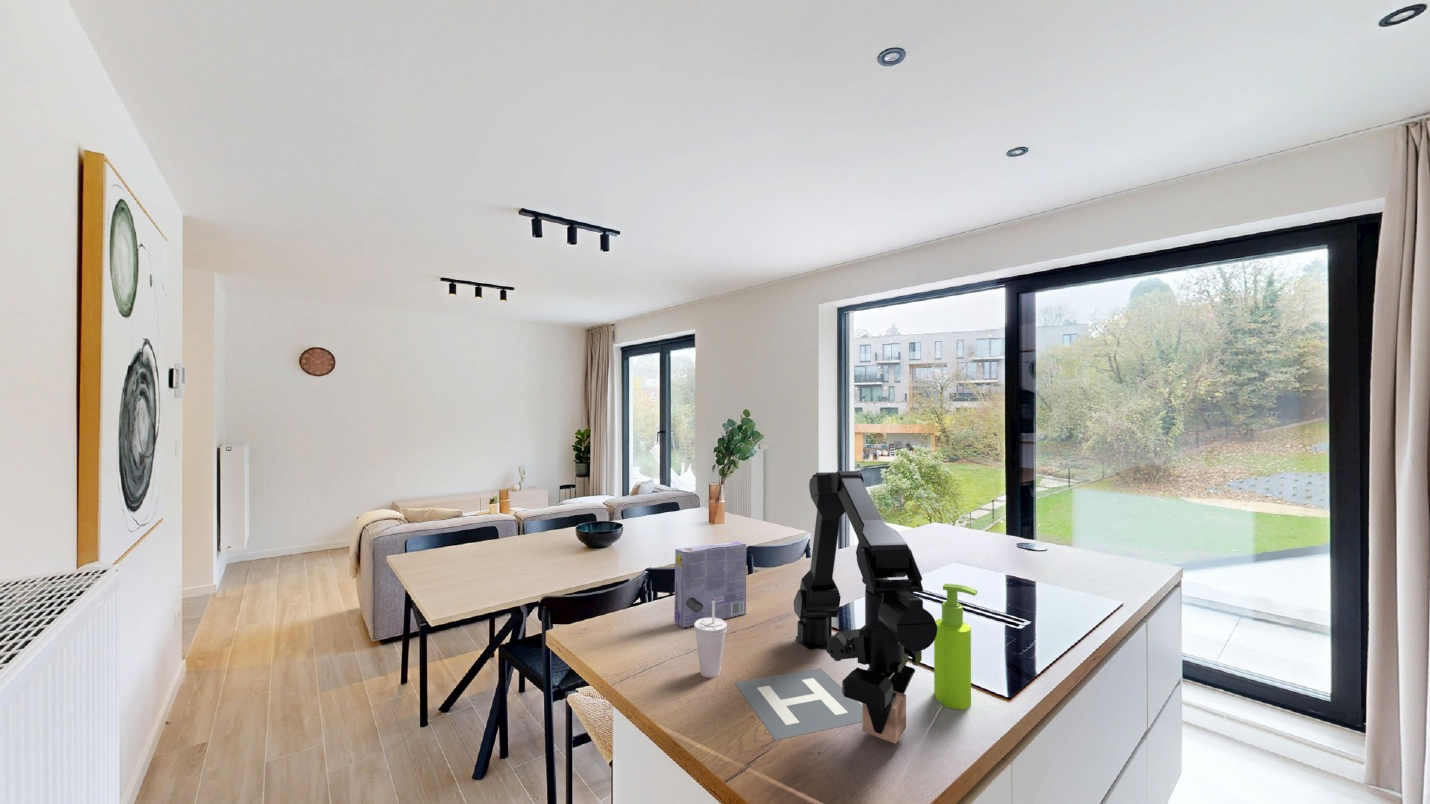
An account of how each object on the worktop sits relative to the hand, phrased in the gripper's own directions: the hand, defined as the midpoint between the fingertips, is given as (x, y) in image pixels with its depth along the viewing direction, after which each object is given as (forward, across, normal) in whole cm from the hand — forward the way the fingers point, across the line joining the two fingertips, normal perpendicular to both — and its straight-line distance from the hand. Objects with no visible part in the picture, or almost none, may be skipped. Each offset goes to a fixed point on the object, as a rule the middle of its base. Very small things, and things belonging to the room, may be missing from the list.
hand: (884, 724), depth 81 cm
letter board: (+3, -2, -15) cm, 16 cm away
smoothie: (+3, 0, -34) cm, 34 cm away
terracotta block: (+1, 0, 0) cm, 1 cm away
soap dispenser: (+3, -19, +6) cm, 20 cm away
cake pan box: (+3, -23, -50) cm, 55 cm away
